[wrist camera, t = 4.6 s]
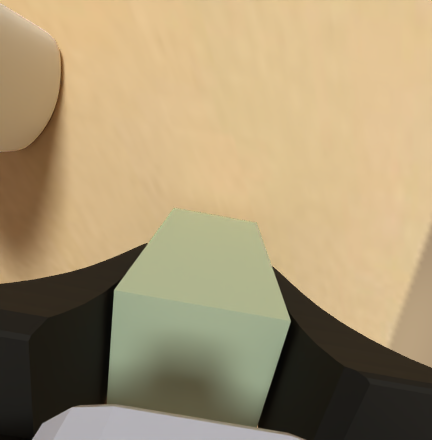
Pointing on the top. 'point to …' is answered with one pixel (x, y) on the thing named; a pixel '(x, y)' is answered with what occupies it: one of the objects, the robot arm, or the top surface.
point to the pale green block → (198, 322)
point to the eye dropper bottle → (26, 80)
